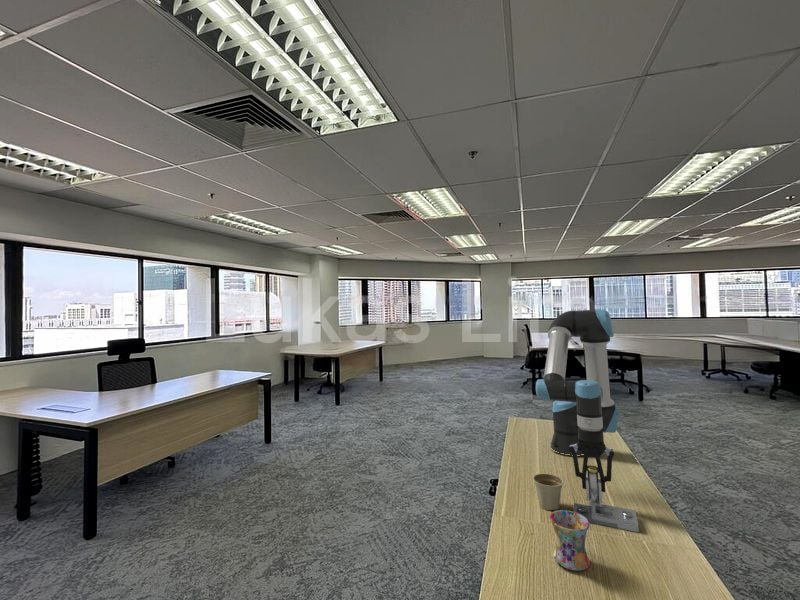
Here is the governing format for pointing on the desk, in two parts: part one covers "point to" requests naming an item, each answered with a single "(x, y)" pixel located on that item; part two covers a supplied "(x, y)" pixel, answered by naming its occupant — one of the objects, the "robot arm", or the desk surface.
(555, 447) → the robot arm
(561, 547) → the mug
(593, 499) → the pin
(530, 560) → the desk surface
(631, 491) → the desk surface
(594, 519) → the grey slotted base plate
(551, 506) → the flower pot
